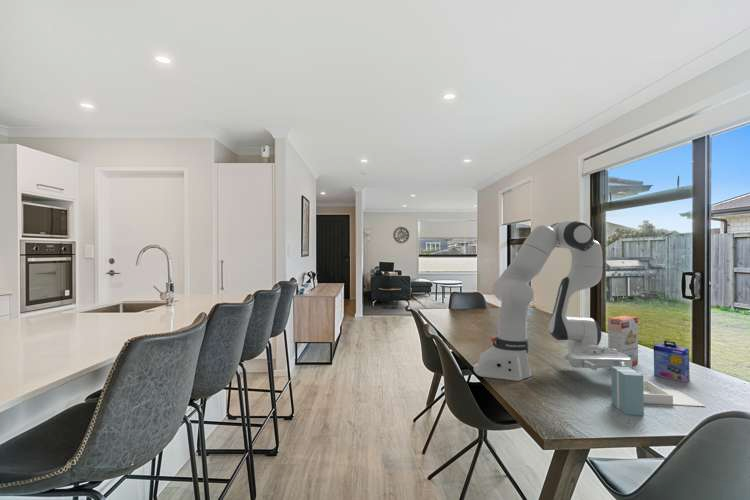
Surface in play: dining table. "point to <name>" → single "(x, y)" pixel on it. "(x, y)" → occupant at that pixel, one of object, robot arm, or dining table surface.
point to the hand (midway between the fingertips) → (609, 367)
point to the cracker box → (624, 336)
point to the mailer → (666, 396)
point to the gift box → (627, 390)
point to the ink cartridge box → (671, 361)
